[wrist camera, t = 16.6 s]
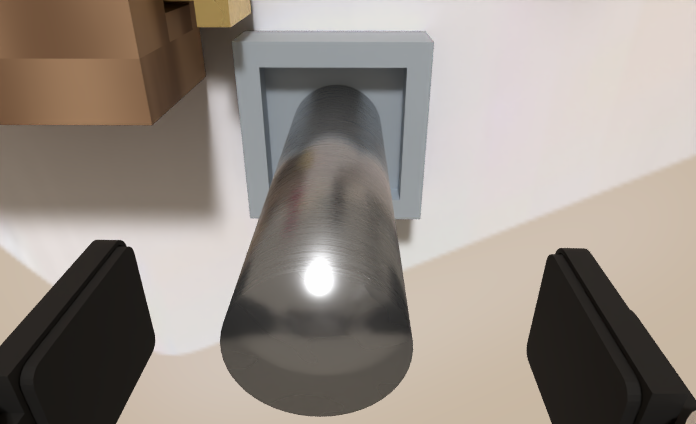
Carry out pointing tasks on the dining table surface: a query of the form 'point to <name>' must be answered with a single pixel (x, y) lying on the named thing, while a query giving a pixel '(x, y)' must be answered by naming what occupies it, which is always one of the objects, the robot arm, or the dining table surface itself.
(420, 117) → the grey square tray
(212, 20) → the tan wooden t-shaped piece
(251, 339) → the grey cylinder
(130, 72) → the socket block
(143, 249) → the dining table surface
